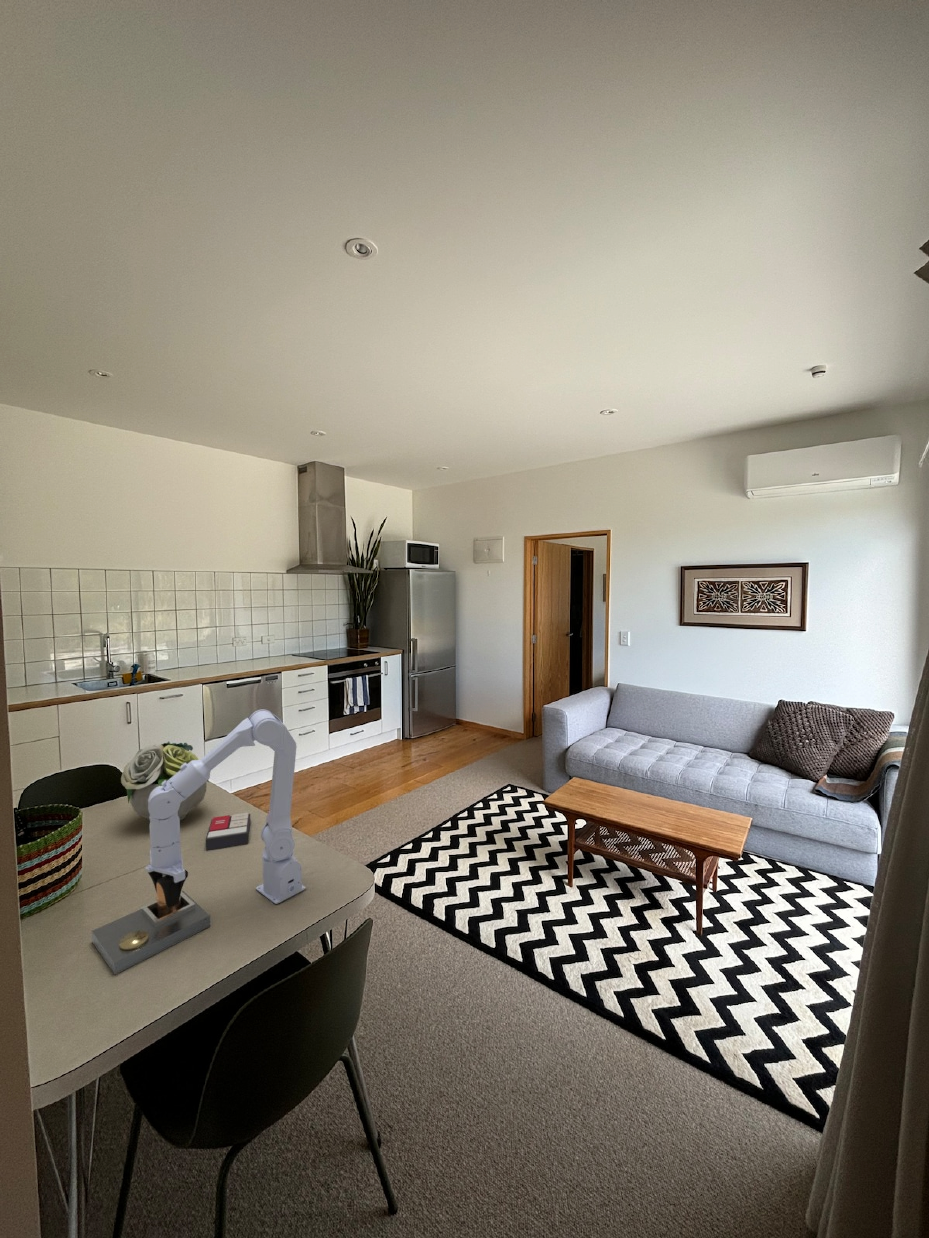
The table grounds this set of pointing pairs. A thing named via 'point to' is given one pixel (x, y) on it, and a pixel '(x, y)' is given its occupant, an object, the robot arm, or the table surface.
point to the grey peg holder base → (147, 933)
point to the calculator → (228, 831)
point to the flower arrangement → (158, 775)
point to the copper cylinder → (164, 902)
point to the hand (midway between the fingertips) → (168, 900)
